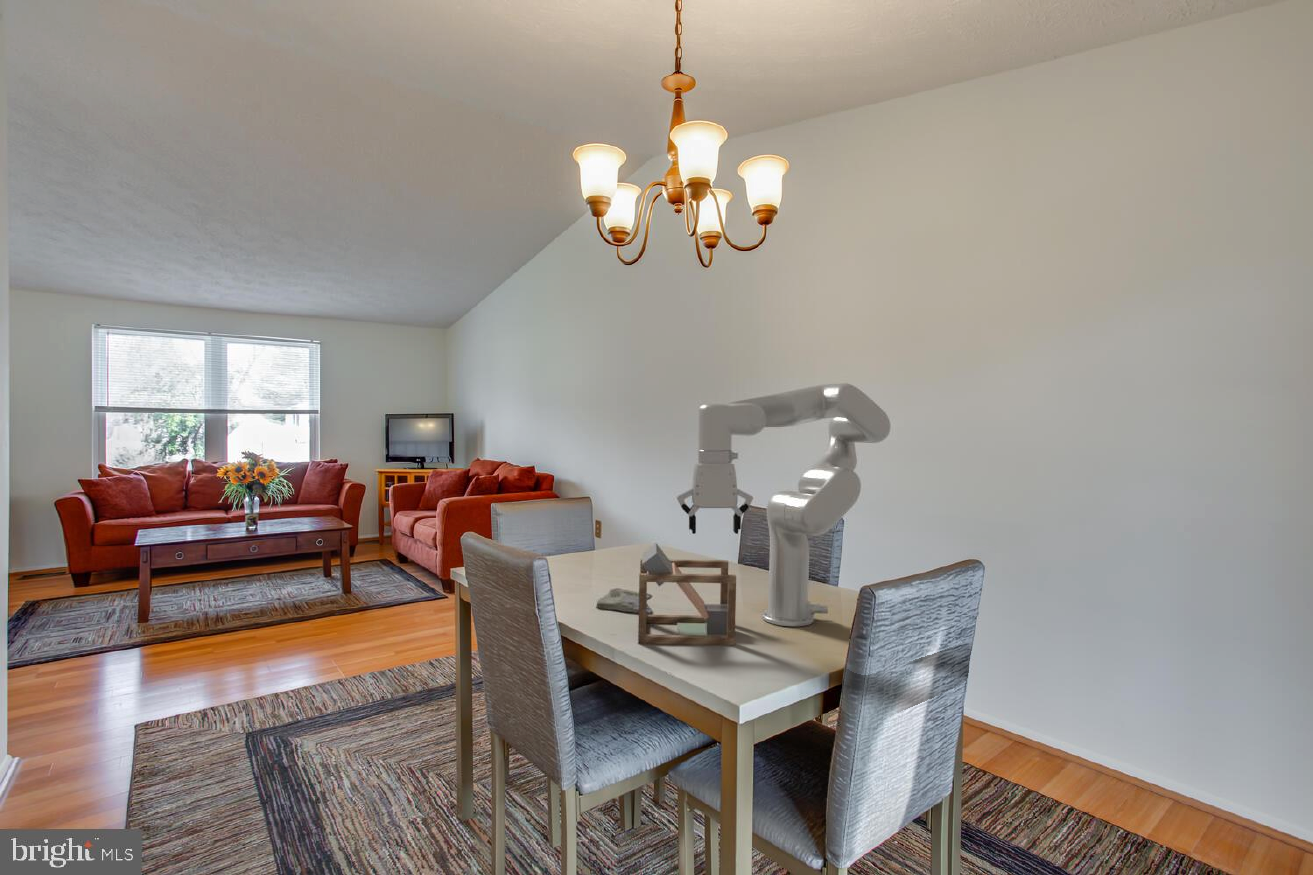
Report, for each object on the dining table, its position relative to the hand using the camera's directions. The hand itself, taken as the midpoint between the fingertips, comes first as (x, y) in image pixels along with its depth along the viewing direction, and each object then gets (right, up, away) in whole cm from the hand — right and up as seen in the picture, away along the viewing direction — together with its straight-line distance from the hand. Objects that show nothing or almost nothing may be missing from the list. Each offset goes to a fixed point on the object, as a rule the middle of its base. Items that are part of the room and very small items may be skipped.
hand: (714, 532), depth 148 cm
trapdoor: (-11, -13, 0) cm, 17 cm away
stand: (-7, -23, 0) cm, 24 cm away
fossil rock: (-21, -23, +23) cm, 38 cm away
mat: (-3, -23, 0) cm, 23 cm away
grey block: (-2, -20, 0) cm, 20 cm away
